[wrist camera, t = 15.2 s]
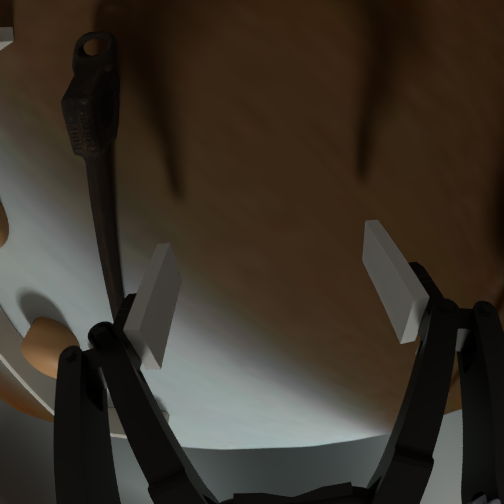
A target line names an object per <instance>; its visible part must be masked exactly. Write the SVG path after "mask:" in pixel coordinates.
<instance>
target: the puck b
mask: <svg viewBox="0 0 504 504" xmlns="http://www.w3.org/2000/svg"><path fill="white" fill-rule="evenodd" d="M73 345H76V346H79V347H80V345H79V342H78V340H77V338H76V337H75V336H74V334H73V333H72V332H71V331H70V330H69V329H68V328H66V327H65V326H64V325H62V324H61V323H59V322H57V321H55V320H53V319H50V318H46V317H39V318H36V319H35V320H34V322H33V324H32V325H31V327H30V329H29V331H28V332H27V334H26V336H25V338H24V339H23V341H22V343H21V345H20V349H21V352H22V354H23V356H24V357H25V359H26V360H27V361H28V362H29V363H30V364H31V365H32V366H33V367H34V368H36V369H37V370H39V371H40V372H42V373H43V374H45V375H48V376H50V377H53V378H56V379H57V369H58V360H59V356H60V354H61V352H62V351H63V350H64V349H65V348H67V347H69V346H73Z"/></svg>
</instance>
